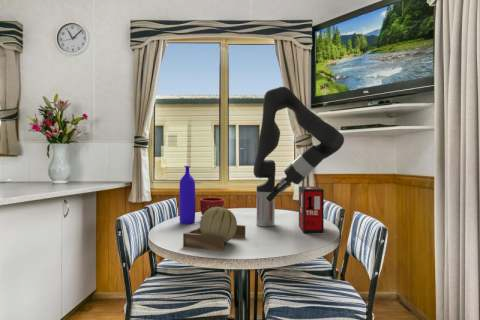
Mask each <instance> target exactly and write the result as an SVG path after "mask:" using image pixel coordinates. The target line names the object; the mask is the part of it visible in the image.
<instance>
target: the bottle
mask: <svg viewBox="0 0 480 320" xmlns="http://www.w3.org/2000/svg"><path fill="white" fill-rule="evenodd" d="M190 167H191V165H184V168H185V172H184V175H182V177H181V178H180V180H179V191H178V192H179V197H178V198H179V200H178V203H179V205H178V206H179V209H178V210H179V212H178V213H179V223H180V224H181V223H182V224H181V225H191V224H192V223H193V224H194V223H195V221H196V181H195V179H194V177H193V176H192V175H191V173H190Z"/></svg>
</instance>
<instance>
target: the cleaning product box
mask: <svg viewBox="0 0 480 320" xmlns="http://www.w3.org/2000/svg"><path fill="white" fill-rule="evenodd" d="M324 192H325V191H324V189H323V188H320V187H318V186H298V227H299V229H300V230H301V231H302V233H303V234H304V235H305V234H308V233H325V232H324V229H325V228H324V222H325V221H324V217H325V216H324V208H325V207H324V205H325V204H324V203H325V202H324V201H325V200H324V199H325V198H324V196H325V195H324Z"/></svg>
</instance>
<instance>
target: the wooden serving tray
mask: <svg viewBox="0 0 480 320" xmlns="http://www.w3.org/2000/svg"><path fill="white" fill-rule="evenodd" d="M182 236H183V237H182V247H184V248H195V249H202V250H211V251H219V252H220V251H221V252H223V251H225V250H224V247H225V243H224V237H222V236H212V235H202V233H201V231H200V226H198V227H197V228H196V227H195V228H194V229H191V230H188V231H185V232H183V235H182ZM233 237H234V238H241V239H242V238H246V225H243V224H242V225H241V224H237V229H236V232H235V234H234V236H233ZM233 237H232V238H233Z"/></svg>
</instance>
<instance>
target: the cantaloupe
mask: <svg viewBox="0 0 480 320" xmlns="http://www.w3.org/2000/svg"><path fill="white" fill-rule="evenodd" d="M201 216H202V218H201V217H200V222H199V227H200V231H201V233H202V235H212V236H222V237H224V244H225V243H228V242H229V241H231V240H233V236H234V234H235V232H236V229H237V225H238V224H237V223H238V221H237V217H236V216H235V214H234V213H233V212H232V211H231V210H230V209H227V208H226V206H225V204H224V205H223V207H212V208H210V209H208V210H207V211H206V212H205V213H204V214H203V215H201Z"/></svg>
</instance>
